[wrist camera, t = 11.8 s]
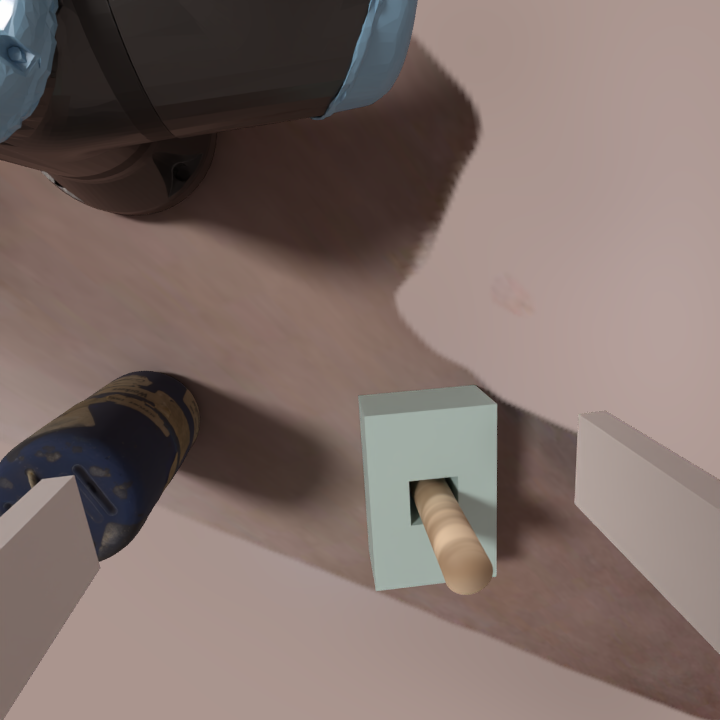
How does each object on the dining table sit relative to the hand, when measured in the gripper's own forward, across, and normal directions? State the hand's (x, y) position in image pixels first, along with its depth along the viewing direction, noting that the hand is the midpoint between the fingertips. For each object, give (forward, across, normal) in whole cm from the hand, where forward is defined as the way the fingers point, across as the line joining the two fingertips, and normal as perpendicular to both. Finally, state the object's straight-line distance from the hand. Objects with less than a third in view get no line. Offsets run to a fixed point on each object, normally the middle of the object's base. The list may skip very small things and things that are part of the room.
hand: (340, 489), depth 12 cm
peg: (+33, +8, -19) cm, 39 cm away
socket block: (+33, +8, -19) cm, 39 cm away
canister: (+33, -17, -9) cm, 39 cm away
